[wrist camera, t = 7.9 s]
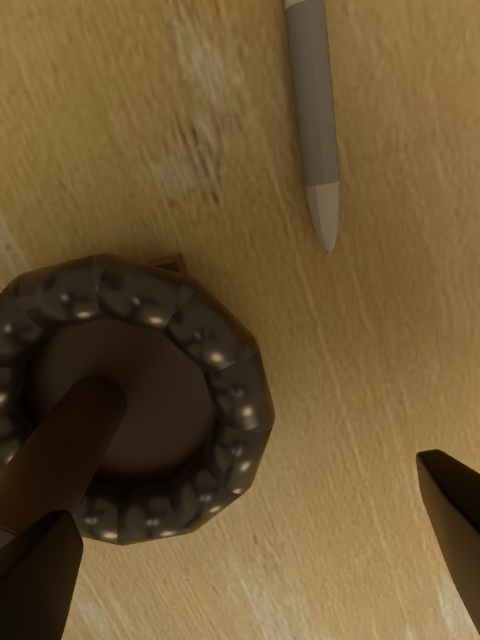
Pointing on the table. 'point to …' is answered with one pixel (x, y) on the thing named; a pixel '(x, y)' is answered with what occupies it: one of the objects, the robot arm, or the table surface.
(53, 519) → the robot arm
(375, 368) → the table surface
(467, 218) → the table surface
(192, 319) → the studded brown bangle
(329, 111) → the pen
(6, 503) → the rack
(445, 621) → the table surface
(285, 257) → the table surface
